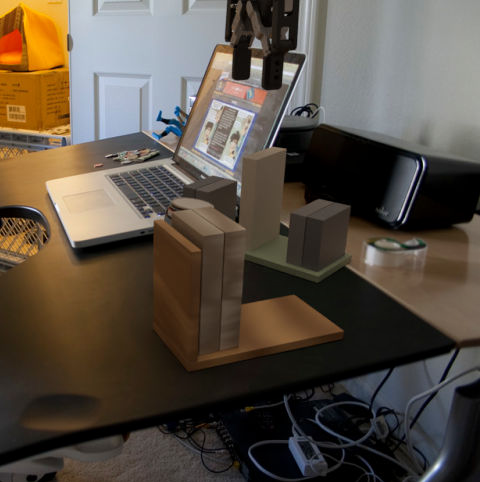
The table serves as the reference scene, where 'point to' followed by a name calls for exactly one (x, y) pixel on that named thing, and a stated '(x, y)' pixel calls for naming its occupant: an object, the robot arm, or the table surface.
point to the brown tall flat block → (262, 196)
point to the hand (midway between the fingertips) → (255, 84)
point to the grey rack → (300, 232)
